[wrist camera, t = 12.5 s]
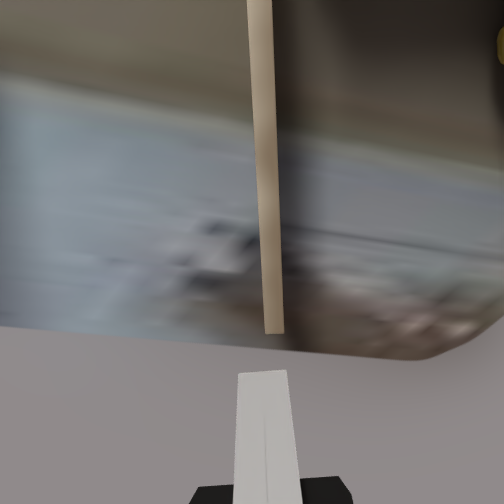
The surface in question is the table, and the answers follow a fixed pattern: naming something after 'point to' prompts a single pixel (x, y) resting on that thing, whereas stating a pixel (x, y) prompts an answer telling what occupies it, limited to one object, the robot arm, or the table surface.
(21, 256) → the table surface
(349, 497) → the robot arm
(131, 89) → the table surface
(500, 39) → the book
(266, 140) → the shelf corner
